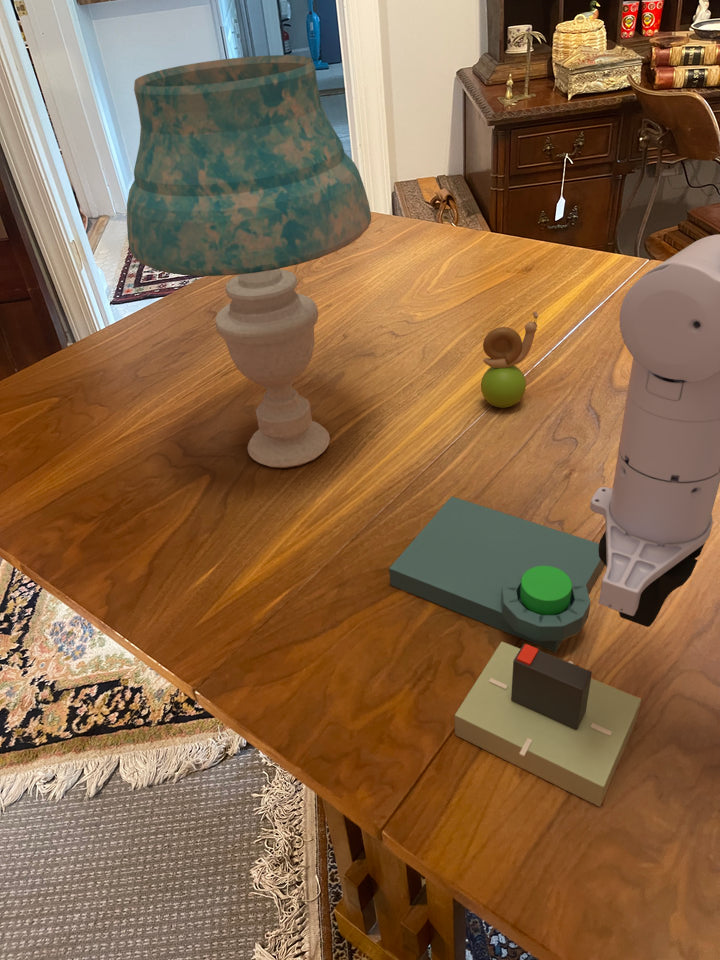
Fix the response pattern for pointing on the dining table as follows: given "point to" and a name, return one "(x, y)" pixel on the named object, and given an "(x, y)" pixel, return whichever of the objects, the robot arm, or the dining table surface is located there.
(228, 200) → the table lamp
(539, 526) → the switch box
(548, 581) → the light button
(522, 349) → the snail figurine
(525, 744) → the dimmer panel
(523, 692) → the dimmer knob
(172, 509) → the dining table surface
